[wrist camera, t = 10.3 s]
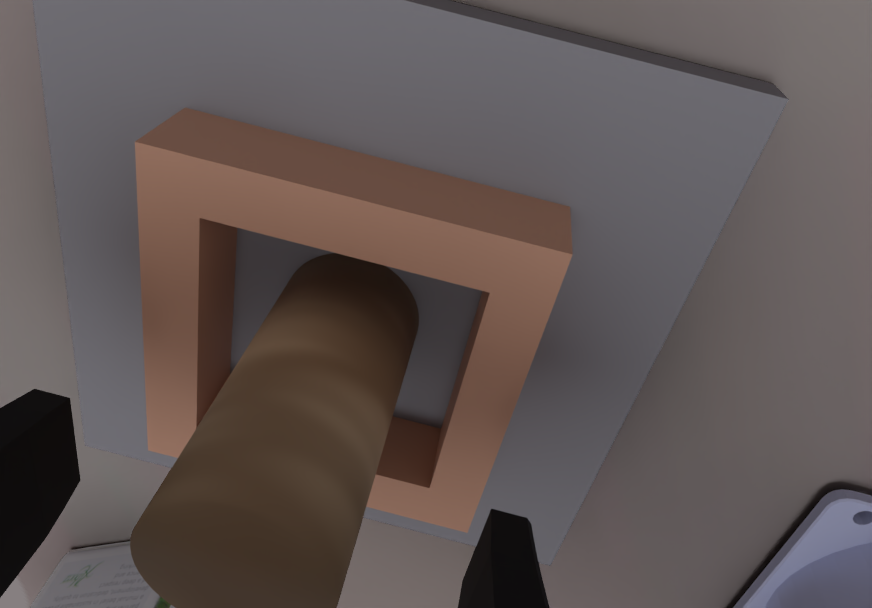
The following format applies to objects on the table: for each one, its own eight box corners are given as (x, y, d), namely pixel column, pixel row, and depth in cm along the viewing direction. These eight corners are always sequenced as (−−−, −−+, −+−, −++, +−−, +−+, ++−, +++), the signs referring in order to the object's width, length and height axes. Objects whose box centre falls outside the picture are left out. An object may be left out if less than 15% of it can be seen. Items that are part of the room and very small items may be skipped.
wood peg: (432, 275, 15) (355, 540, 9) (403, 381, 17) (323, 657, 11) (292, 236, 15) (127, 475, 9) (278, 346, 17) (132, 604, 11)
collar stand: (773, 83, 13) (826, 137, 10) (550, 537, 21) (550, 630, 18) (54, -102, 13) (-65, -92, 10) (103, 421, 21) (42, 499, 18)
